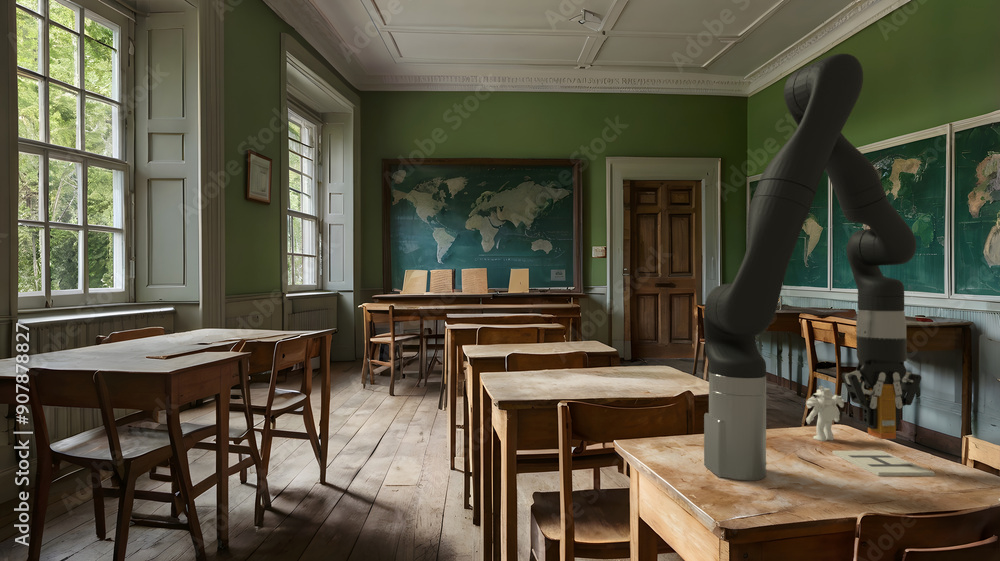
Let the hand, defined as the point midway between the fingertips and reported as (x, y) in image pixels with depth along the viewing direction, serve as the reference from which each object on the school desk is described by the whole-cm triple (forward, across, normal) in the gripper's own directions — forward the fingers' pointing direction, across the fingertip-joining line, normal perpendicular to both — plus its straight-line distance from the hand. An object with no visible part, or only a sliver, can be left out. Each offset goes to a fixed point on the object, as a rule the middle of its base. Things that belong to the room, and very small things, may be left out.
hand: (881, 427), depth 96 cm
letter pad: (+7, 0, 0) cm, 7 cm away
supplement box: (+2, 0, 0) cm, 2 cm away
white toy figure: (+7, 0, +16) cm, 18 cm away
